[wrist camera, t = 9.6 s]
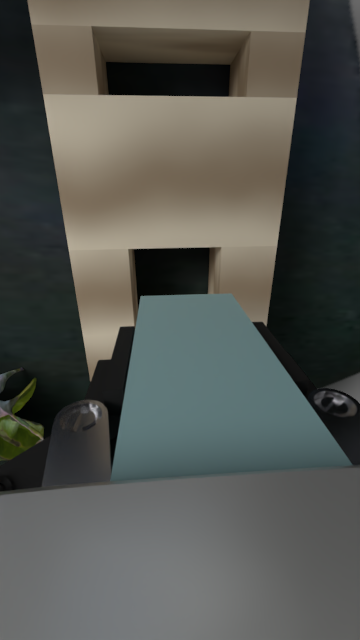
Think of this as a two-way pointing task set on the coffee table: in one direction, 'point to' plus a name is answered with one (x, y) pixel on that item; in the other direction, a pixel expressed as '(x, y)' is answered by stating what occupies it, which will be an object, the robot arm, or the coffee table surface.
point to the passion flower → (17, 422)
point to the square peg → (211, 397)
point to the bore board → (168, 145)
